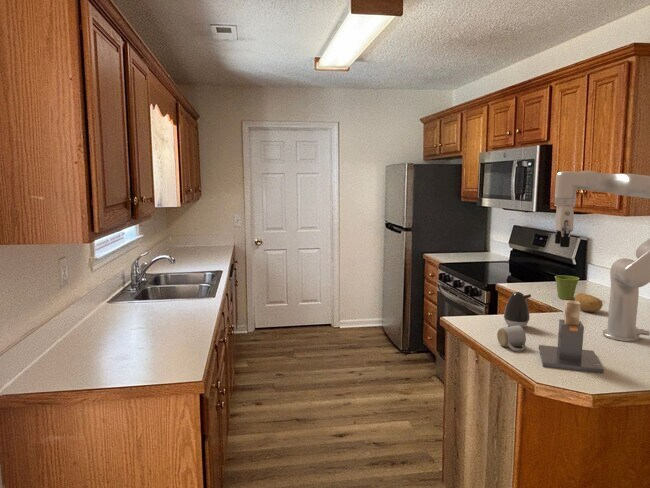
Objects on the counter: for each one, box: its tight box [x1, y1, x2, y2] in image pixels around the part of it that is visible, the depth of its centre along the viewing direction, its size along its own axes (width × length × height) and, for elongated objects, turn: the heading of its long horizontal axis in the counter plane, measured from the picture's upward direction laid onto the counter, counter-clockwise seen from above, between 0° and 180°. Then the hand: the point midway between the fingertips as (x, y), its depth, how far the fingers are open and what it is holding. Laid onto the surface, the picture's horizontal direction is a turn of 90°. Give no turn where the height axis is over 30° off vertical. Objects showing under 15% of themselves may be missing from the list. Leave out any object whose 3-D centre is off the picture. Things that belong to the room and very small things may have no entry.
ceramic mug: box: [496, 325, 527, 353], centre depth 181 cm, size 11×8×8 cm
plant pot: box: [554, 275, 580, 301], centre depth 254 cm, size 12×12×11 cm
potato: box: [574, 292, 604, 313], centre depth 229 cm, size 10×14×8 cm
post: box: [563, 299, 581, 326], centre depth 167 cm, size 4×4×19 cm
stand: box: [538, 319, 604, 374], centre depth 167 cm, size 18×18×14 cm
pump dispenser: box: [503, 291, 532, 329], centre depth 205 cm, size 10×10×15 cm
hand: (561, 245), depth 193 cm, fingers open, 9 cm apart
